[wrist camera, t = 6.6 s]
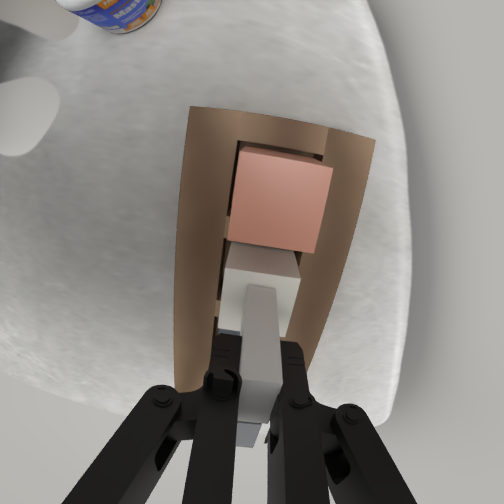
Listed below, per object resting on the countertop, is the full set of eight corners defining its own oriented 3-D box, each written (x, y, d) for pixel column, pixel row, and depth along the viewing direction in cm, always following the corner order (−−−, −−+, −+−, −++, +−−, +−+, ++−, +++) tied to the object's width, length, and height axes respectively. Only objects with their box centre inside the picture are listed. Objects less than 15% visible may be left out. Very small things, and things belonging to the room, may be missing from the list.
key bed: (183, 379, 29) (175, 407, 25) (203, 110, 19) (190, 106, 15) (283, 392, 29) (285, 421, 26) (355, 137, 19) (375, 139, 15)
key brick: (235, 210, 18) (227, 240, 13) (245, 146, 16) (239, 151, 12) (300, 221, 18) (313, 253, 13) (312, 157, 16) (333, 168, 12)
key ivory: (226, 285, 21) (217, 328, 17) (233, 234, 20) (224, 267, 15) (280, 293, 21) (284, 337, 17) (291, 243, 20) (301, 278, 15)
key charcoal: (212, 399, 25) (205, 442, 20) (215, 372, 23) (207, 418, 19) (254, 404, 25) (252, 447, 20) (261, 378, 23) (261, 425, 19)
